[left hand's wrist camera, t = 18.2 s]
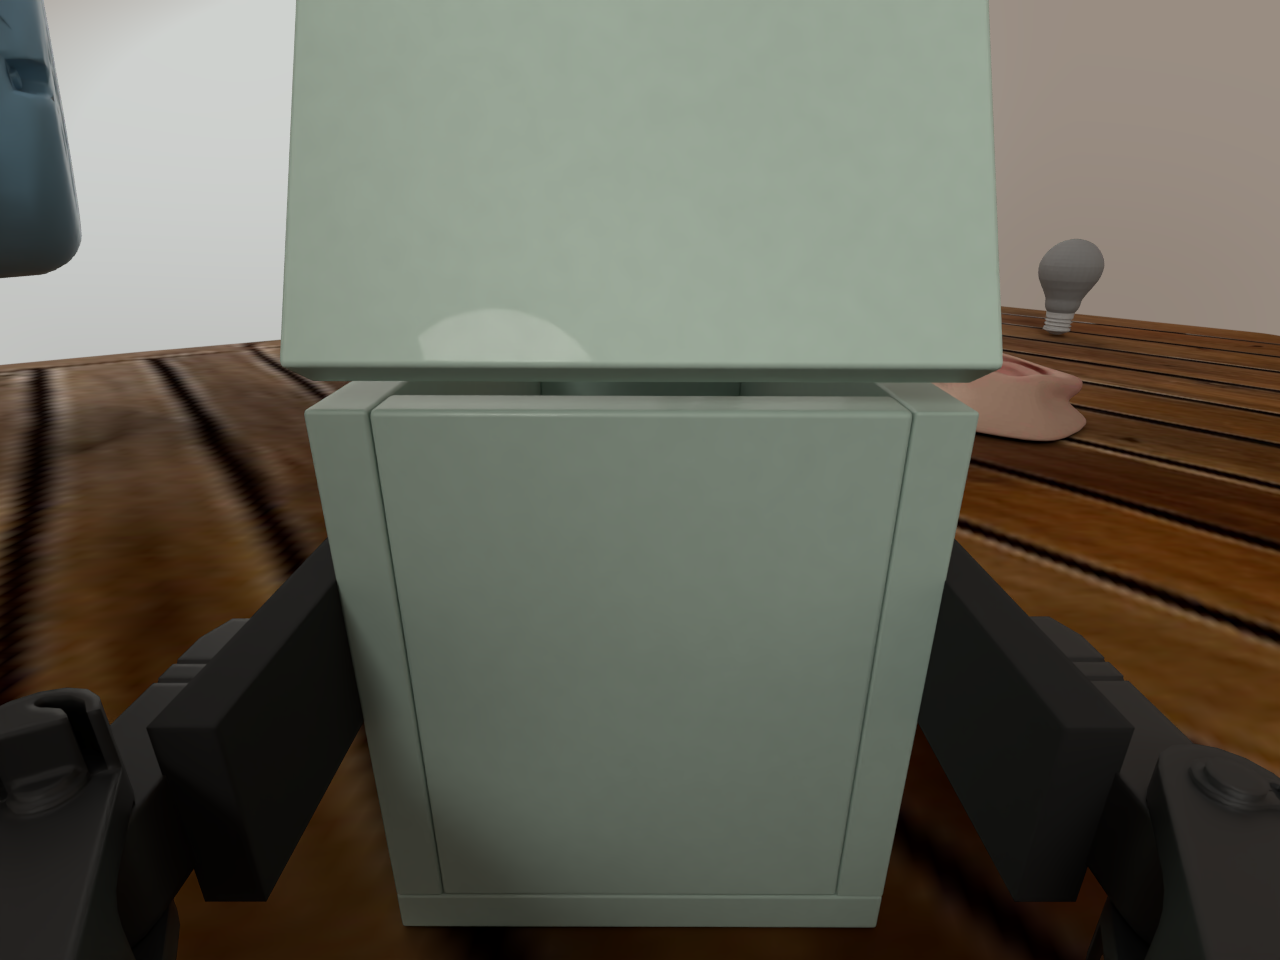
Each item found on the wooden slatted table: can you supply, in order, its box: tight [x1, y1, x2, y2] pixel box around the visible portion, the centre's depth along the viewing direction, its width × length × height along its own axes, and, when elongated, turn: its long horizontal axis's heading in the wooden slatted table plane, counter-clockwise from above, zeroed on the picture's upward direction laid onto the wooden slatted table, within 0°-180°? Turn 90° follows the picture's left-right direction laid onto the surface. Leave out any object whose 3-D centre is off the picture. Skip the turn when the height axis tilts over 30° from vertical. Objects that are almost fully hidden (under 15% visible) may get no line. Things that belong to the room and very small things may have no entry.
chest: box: [304, 381, 979, 927], centre depth 19 cm, size 17×9×10 cm, turn 0°
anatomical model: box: [932, 353, 1086, 441], centre depth 46 cm, size 13×4×12 cm
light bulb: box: [1038, 239, 1104, 334], centre depth 74 cm, size 6×6×10 cm
